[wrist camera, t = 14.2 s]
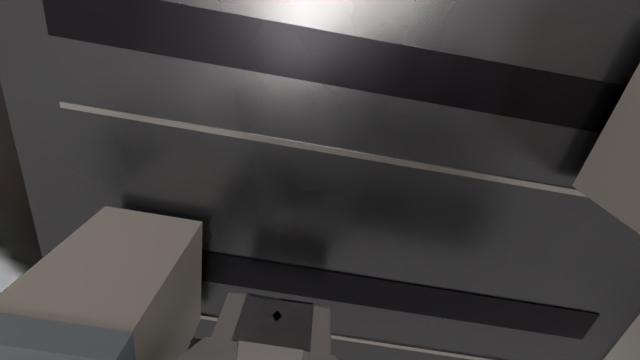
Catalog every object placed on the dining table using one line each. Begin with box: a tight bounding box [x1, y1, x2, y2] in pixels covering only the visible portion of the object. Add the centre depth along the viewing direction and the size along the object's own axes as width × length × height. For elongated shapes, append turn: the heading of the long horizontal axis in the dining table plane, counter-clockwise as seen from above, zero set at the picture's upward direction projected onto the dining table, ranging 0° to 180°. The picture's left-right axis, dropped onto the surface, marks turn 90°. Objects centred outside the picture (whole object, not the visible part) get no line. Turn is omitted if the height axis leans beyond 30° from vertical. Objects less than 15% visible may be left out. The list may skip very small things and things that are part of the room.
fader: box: [0, 206, 203, 360], centre depth 9 cm, size 3×4×4 cm
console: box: [0, 0, 640, 360], centre depth 11 cm, size 22×14×2 cm, turn 81°
